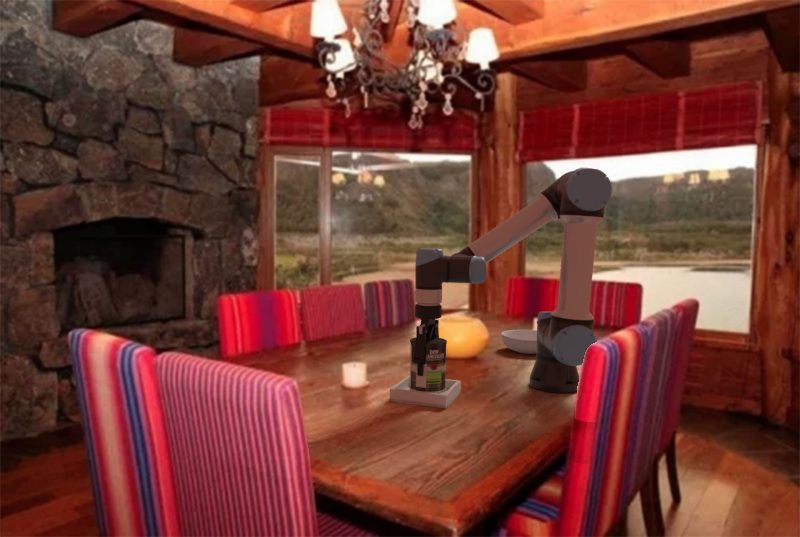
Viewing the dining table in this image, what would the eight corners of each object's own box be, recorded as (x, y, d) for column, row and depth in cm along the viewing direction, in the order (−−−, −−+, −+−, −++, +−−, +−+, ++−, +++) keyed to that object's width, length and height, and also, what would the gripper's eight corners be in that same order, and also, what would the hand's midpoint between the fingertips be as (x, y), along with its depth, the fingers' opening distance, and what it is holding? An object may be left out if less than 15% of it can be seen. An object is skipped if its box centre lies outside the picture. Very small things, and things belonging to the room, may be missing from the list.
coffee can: (451, 393, 161) (452, 342, 160) (415, 395, 158) (416, 344, 157) (438, 383, 171) (439, 335, 170) (404, 385, 168) (405, 337, 167)
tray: (460, 392, 169) (460, 380, 169) (446, 408, 154) (446, 395, 154) (408, 386, 175) (408, 375, 174) (389, 401, 160) (389, 388, 159)
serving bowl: (496, 355, 220) (497, 336, 220) (505, 344, 240) (505, 328, 240) (553, 360, 214) (554, 341, 213) (557, 348, 233) (558, 331, 233)
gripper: (427, 298, 174) (425, 371, 176) (402, 308, 153) (400, 391, 155) (451, 299, 172) (449, 373, 174) (429, 309, 151) (427, 394, 152)
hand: (426, 382), depth 164 cm, fingers closed on coffee can, 10 cm apart
